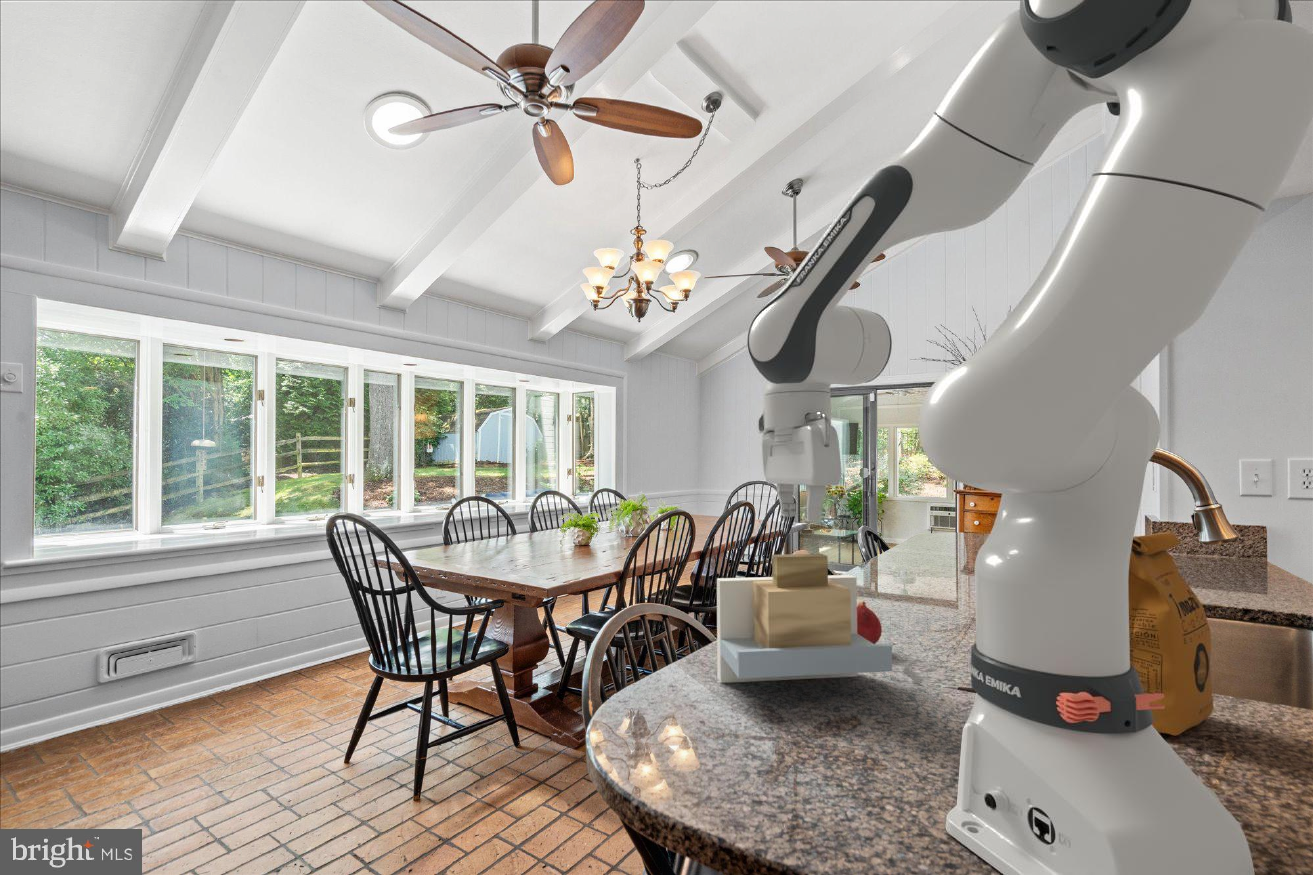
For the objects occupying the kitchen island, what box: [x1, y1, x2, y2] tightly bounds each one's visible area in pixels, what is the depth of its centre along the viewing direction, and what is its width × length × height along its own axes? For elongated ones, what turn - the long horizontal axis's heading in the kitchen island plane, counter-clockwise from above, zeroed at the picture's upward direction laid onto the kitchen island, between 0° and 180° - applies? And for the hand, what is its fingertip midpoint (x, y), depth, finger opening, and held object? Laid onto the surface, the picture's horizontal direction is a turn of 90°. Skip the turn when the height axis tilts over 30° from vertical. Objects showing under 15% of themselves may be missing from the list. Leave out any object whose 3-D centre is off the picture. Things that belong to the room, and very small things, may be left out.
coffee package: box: [1128, 531, 1214, 736], centre depth 74 cm, size 10×12×22 cm
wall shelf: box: [716, 574, 893, 684], centre depth 84 cm, size 12×20×14 cm, turn 97°
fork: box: [902, 665, 976, 694], centre depth 84 cm, size 3×16×2 cm, turn 59°
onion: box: [857, 600, 883, 644], centre depth 101 cm, size 6×6×8 cm
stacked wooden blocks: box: [753, 553, 851, 649], centre depth 84 cm, size 7×11×12 cm, turn 97°
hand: (800, 518), depth 84 cm, fingers open, 8 cm apart
